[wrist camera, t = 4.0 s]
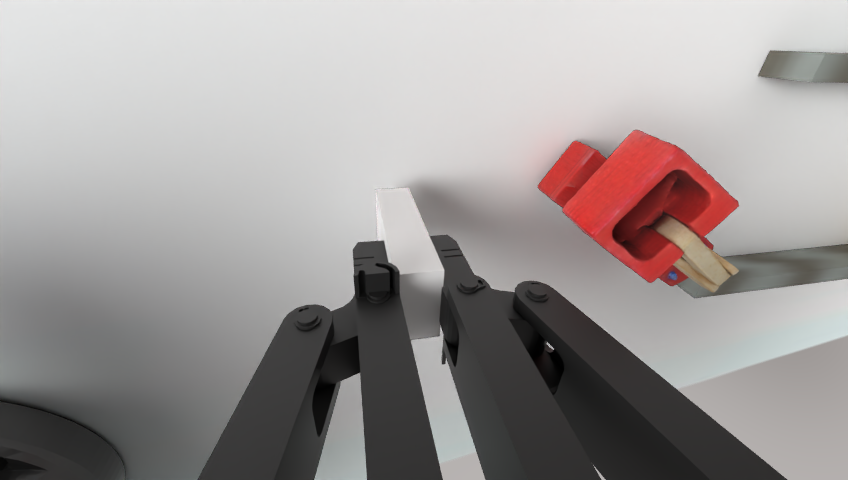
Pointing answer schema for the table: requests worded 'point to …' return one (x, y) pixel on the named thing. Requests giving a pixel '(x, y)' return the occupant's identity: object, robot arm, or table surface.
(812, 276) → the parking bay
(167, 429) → the table surface
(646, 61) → the table surface
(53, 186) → the table surface
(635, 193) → the toy fire truck
